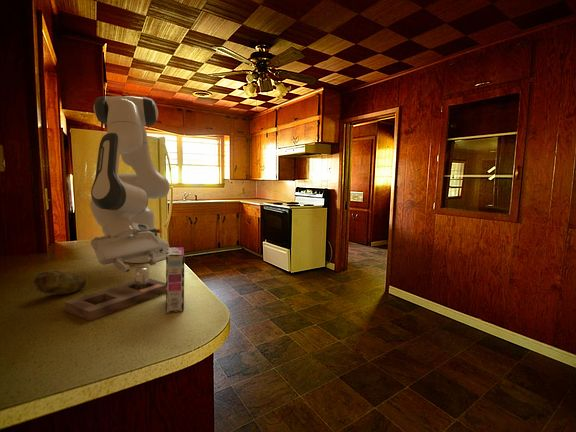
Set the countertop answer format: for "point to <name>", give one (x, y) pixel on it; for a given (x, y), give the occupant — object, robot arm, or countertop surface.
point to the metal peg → (141, 278)
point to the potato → (59, 282)
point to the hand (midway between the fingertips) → (141, 267)
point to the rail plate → (113, 299)
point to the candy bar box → (175, 279)
